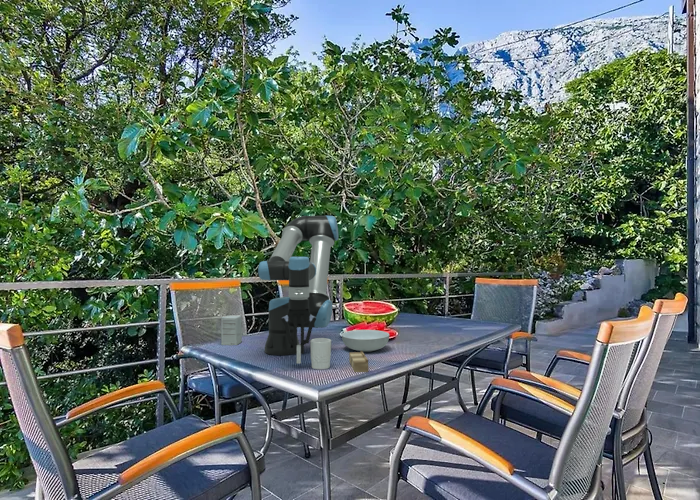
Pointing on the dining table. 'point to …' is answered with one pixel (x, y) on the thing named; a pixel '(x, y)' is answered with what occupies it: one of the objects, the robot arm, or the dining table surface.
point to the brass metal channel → (358, 361)
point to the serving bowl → (365, 340)
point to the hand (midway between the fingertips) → (298, 362)
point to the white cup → (320, 353)
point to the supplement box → (231, 330)
